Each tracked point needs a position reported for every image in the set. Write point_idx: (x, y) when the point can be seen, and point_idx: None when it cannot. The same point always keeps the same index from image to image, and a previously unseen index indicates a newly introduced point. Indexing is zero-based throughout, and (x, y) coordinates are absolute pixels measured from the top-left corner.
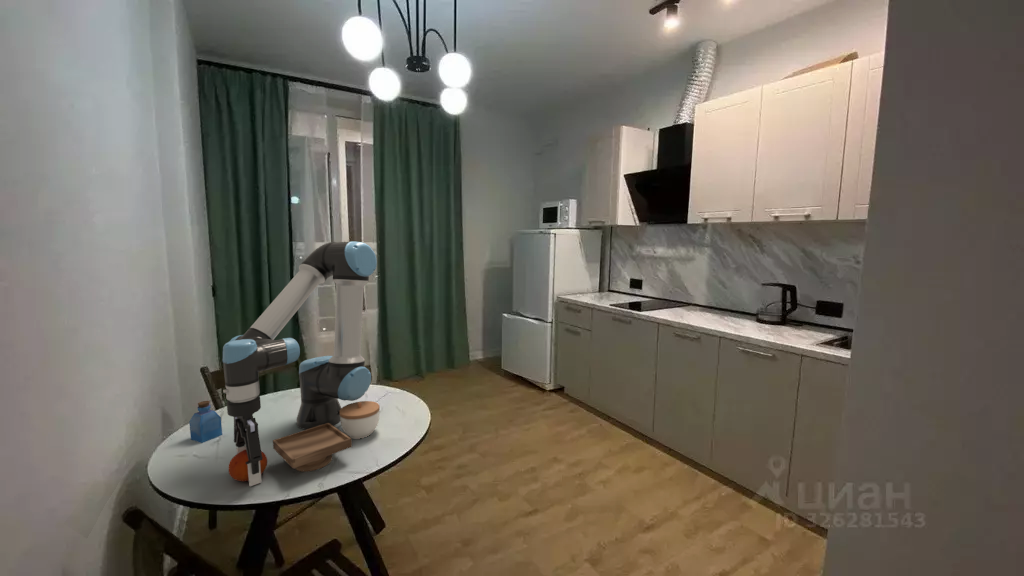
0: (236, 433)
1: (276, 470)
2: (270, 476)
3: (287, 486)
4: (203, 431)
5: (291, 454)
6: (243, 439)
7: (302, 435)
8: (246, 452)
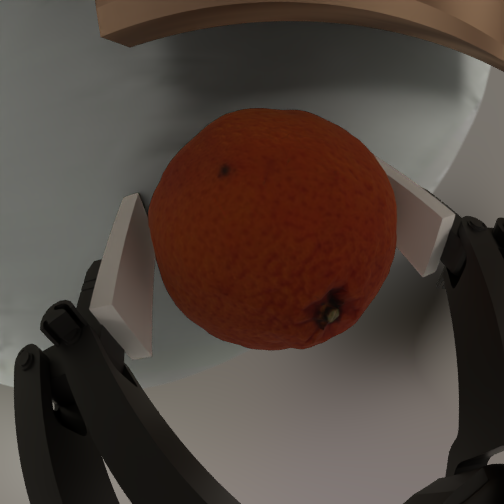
0: (97, 466)
1: (270, 54)
2: (321, 96)
3: (443, 77)
4: None
5: (485, 23)
6: (140, 404)
7: None
8: (351, 316)
